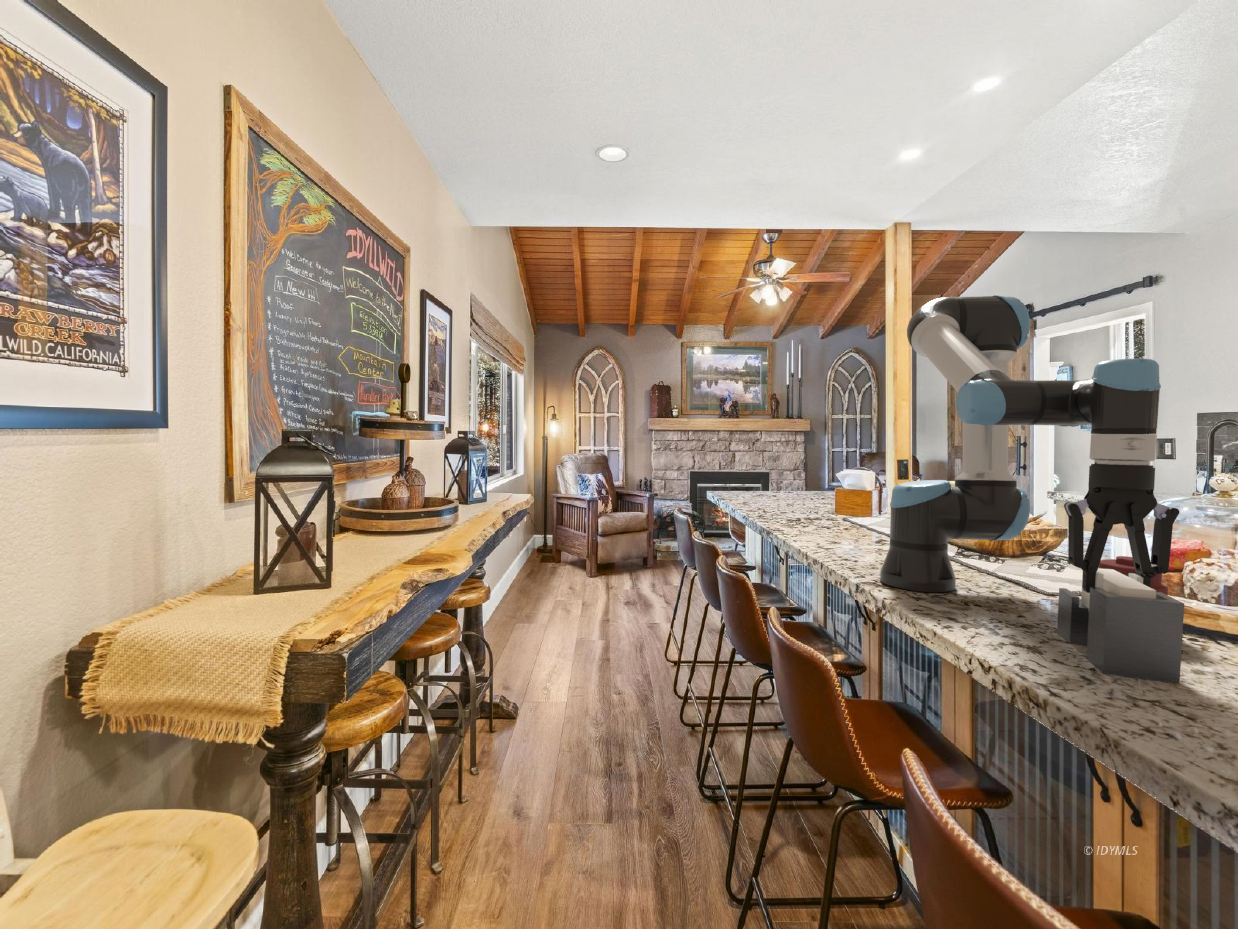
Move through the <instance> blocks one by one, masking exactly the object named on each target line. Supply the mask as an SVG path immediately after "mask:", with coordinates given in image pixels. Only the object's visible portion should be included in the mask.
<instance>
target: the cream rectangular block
mask: <svg viewBox="0 0 1238 929" xmlns="http://www.w3.org/2000/svg"><path fill="white" fill-rule="evenodd" d="M1097 571H1098V572H1100V573H1102V574H1104V577H1103V589H1104V590H1106V591H1107V592H1109V593H1111V594H1113V595H1115V596H1126V597H1137V598H1149V599H1156V590H1154V589H1152V588H1150V587H1148V586H1146V585H1144V584H1142V583H1140V582H1138V581H1136V580H1134V579H1132V578H1130V577H1128V576H1126V575H1124V574H1121V573H1119V572H1117V571H1115V570H1113V569H1101V568H1098V570H1097ZM1082 584H1083V574H1082V580H1081V585H1082ZM1080 599H1081V603H1082V604H1083V605H1085V606H1086V607H1087V608H1089V593H1087V592H1085V591H1084V590H1083V588H1082V587H1081V597H1080Z"/></svg>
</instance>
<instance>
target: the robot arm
mask: <svg viewBox="0 0 1238 929" xmlns="http://www.w3.org/2000/svg"><path fill="white" fill-rule="evenodd" d="M1030 318H1031V317H1030V315H1029V311H1028V308H1027V307H1026V305H1025V304H1024V302H1022V301H1021V300H1020V299H1019V298H1017V297H1014V296H1005V295H1002V296H1001V295H994V294H993V295H991V296H990V295H988V296H987V295H986V296H984V295H983V296H945V297H940V298H935V299H933V300H930V301H928V302H927V303H925V304H923V305H922V306H920V307H919V308H918V309H917V310H916V311H915V312H914V313H913V315H912V316H911V318H910V320H909V322H908V324H907V328H906V336H907V337H906V338H907V342H908V343H909V345H910V347H911V348H912V349H913V350H914V352H916V353H917V354H918V355H919V356H921V357H925V358H928V360H929V361H930V362H931V363H932V364H933V366H934V367H935V368H936V369H937V370H938V371H939V372H940V374H942V376H943V377H944V378H945V379H946V381H948V383H949V384H950V385H951V386H952V387H953V388H954V390H955V391H956V392H957V394H956V398H955V409H956V411H957V416H958V418H959V419H960V421H961V422H962V472H961V473H960V474H958V475H957V476H956V477H955V478H954V486H952V484H951V483H950V481H949V480H945V479H932V480H931V479H930V480H928V479H927V480H915V481H913V480H912V481H907V482H901V483H899V484H896V485H895V486H894V487H893V488H892V491H891V498H890V504H889V507H890V526H889V528H890V529H889V531H890V532H889V548H888V551H887V553H886V556H885V558H884V561H883V563H882V566H881V568H880V575H879V580H880V582H881V583H883V584H885V585H888V586H889V587H890V586H891V587H893V588H898V589H902V590H906V591H914V592H921V593H922V592H923V593H924V592H925V593H946V592H952V591H954V590H956V586H957V585H956V582H957V579H956V575H955V572H954V570H953V569H954V568H953V566H952V563H951V562H952V561H951V558H950V557H949V553H948V550H949V548H948V547H949V540H977V541H989V542H990V541H991V542H996V541H1010V540H1013V539H1015V538H1017V537H1018V536H1020V535H1021V533H1022V532H1024V530H1025V528H1026V526H1027V524H1028V521H1029V519H1030V515H1031V514H1030V513H1031V503H1030V502H1031V501H1030V499H1029V498H1028V494H1027V492H1026V490H1024V489H1022V488H1020V487H1018V486H1017V483H1018V482H1017V481H1018V480H1017V478H1016V477H1014V476H1013V475H1012V474H1011V473H1010V471H1009V425H1010V426H1021V425H1022V426H1059V427H1073V428H1075V427H1079V426H1090V425H1091V426H1090V428H1091V430H1090V446H1089V459H1090V460H1091V461H1094V463H1091V465H1089V467H1088V468H1089V469H1088V470H1089V471H1088V491H1087V493H1086V494H1085V496H1084V498H1083V499H1080V500H1077V501H1074V502H1070V501H1067V502H1065V503H1064V504H1063V508H1064V511H1065V512H1066V515H1067V517H1068V518H1067V519H1068V523H1067V524H1068V526H1067V528H1068V530H1067V531H1068V537H1067V539H1068V541H1067V543H1068V544H1067V546H1068V547H1067V550H1068V552H1067V553H1068V555H1067V556H1068V557H1067V558H1068V559H1067V560H1068V563H1069V564H1070V565H1071V566H1073V567H1076V568H1079V569H1081V570H1082V575H1083V584H1082V583H1081V589H1082V588H1083V590H1084V591H1085V592H1087V593H1089V601H1090V586H1091V587H1101V588H1102V589H1103V577H1104V574H1102V573H1100V572H1098V571H1097V570H1098V567H1099V564H1100V561H1101V560H1102V557H1103V554H1104V551H1105V549H1106V548H1105V547H1106V544H1107V542H1108V537H1109V535H1110V532H1111V531H1112V530H1113V527H1114V526H1115V525H1124V528H1125V530H1126V532H1127V537H1128V543H1129V547H1130V552H1131V557H1133V562H1134V567H1135V571H1136V572H1137V573H1136V574H1133V573H1129V577H1130V578H1132V579H1134V580H1136V581H1138V582H1140V583H1142V584H1144V585H1146V586H1148V587H1151V578H1153V577H1155V575H1156V574H1161V573H1162V575H1165V574H1167V573H1169V569H1170V557H1171V551H1172V550H1171V549H1172V539H1173V529H1174V523H1175V522H1176V520H1177V518H1178V516H1179V515H1180V510H1179V508H1177V507H1173V506H1167V505H1165V504H1162V503H1159V502H1158V500H1157V498H1156V496H1155V494H1154V490H1155V480H1156V478H1155V477H1156V467H1154V465H1153V464H1152V465H1150V464H1151V463H1150V462H1155V461H1156V456H1157V455H1156V454H1157V440H1158V439H1157V436H1158V434H1157V433H1158V432H1157V429H1158V417H1159V403H1160V389H1161V386H1162V385H1161V383H1160V365H1159V363H1158V361H1156V360H1155V359H1152V358H1124V359H1123V358H1122V359H1121V358H1120V359H1112V360H1111V359H1110V360H1104V361H1101V362H1098V363H1097V364H1096V365H1095V366H1094V369H1093V374H1092V377H1091V378H1087V379H1080V380H1079V379H1078V380H1076V379H1075V380H1072V379H1071V380H1067V379H1066V380H1062V379H1061V380H1050V379H1049V380H1036V379H1035V380H1029V379H1028V380H1017V379H1015V380H1014V379H1011V378H1010V376H1009V365H1010V362H1011V361H1012V360H1013V359H1015V357H1017V355H1018V349H1021V348H1022V347H1023V346H1024V345H1025V344H1026V342H1027V341H1028V338H1029V337H1028V335H1029V334H1030V330H1031V319H1030ZM1087 508H1088V509H1089V510H1090V511H1091V513H1092V514H1093V515H1094V516H1095V517H1094V520H1093V524H1092V526H1093V528H1092V532H1091V535H1090V538H1089V541H1088V545H1087V548H1086V551H1084V549H1085V548H1084V547H1085V546H1084V544H1085V542H1084V535H1085V534H1084V532H1085V531H1084V529H1085V527H1084V526H1085V524H1084V515H1085V514H1086V509H1087ZM1152 511H1153V516H1154V518H1155V520H1154V523H1153V533H1152V543H1151V544H1152V545H1151V554H1150V553H1149V552H1150V551H1149V549H1148V543H1147V540H1146V535H1145V534H1146V533H1145V532H1146V526H1145V522H1144V519H1145V518H1146V517H1147V516H1149V515H1150V514H1151V512H1152ZM1084 552H1085V553H1084Z"/></svg>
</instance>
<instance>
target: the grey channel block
mask: <svg viewBox="0 0 1238 929" xmlns="http://www.w3.org/2000/svg"><path fill="white" fill-rule="evenodd" d="M1088 620H1089V608H1087V607H1086V606H1085V605H1083V604H1082V603H1081V597H1079V596H1078V595H1076V594H1075V593H1074V592H1072V591H1071V590H1069V589H1067V588H1065V587H1058V606H1057V623H1056V624H1057V627H1056V629H1057V630H1056V632H1057V633H1058V634H1059V635H1060V636H1061V637H1062V638H1063V639H1064V640H1066V642H1068V643H1069V644H1072V645H1073V644H1075V645H1083V646H1087V639H1088Z"/></svg>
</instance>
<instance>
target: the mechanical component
mask: <svg viewBox="0 0 1238 929" xmlns="http://www.w3.org/2000/svg"><path fill="white" fill-rule="evenodd" d="M1098 568H1101V569H1113V570H1115V571H1117V572H1119V573H1121V574H1124V575H1126V576H1128V577H1129V573H1133V574H1136V573H1137V572H1136V571H1135V567H1134V562H1133V557H1132V556H1127V555H1125V556H1124V555H1122V556H1121V555H1119V556H1116V557H1115V559H1114V558H1112V559H1110V558H1109V559H1106V558H1105V559H1101V561H1100V564H1099V567H1098ZM1162 576H1163V574H1162V573H1161V574H1156V575H1155V577H1153V578H1151V587H1150V588H1152V589H1154V590H1156V592H1161V593H1164V594H1166V595H1168V594H1169V587H1168V586H1167V585H1165V584H1162V583H1163V582H1162V580H1163V579H1162V578H1163V577H1162ZM1168 596H1169V595H1168Z"/></svg>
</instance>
